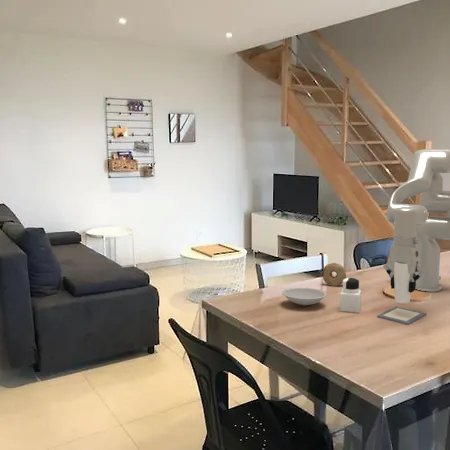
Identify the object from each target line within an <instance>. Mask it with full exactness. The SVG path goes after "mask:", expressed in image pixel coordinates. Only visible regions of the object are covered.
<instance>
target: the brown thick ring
mask: <svg viewBox="0 0 450 450" xmlns="http://www.w3.org/2000/svg"><path fill="white" fill-rule="evenodd" d="M332 273H335V274H336V275H335V276H334V275H333V274H332ZM346 278H347V273H346V269H345V268H344V266H343V265H341V264H339V263H336V262H331V263H327V264H326V265H325V266H324V268H323V270H322V280H323V281H324V283H325V284H327V285H328V286H333V287H335V286H341V285H343V280H344V279H346Z"/></svg>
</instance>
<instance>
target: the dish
mask: <svg viewBox="0 0 450 450" xmlns="http://www.w3.org/2000/svg"><path fill="white" fill-rule="evenodd" d="M281 293H282V294H281V295H283V296H284V297H285V298H286V299H287V300H289V301H290V302H292V303H294V304H295V305H301V306H303V307H306V306H309V305H315V304H317V303H319V302H320V301H322V300H323V299H324V298H326V297H327V296H328V294H327V292H325V291H324V290H322V289H317V288H309V287H308V288H307V287H293V288H288V289H284V290H283V291H282V292H281Z"/></svg>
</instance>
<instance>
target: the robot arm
mask: <svg viewBox="0 0 450 450" xmlns="http://www.w3.org/2000/svg"><path fill="white" fill-rule="evenodd" d="M412 158H413V159H412V162H411V166H410V167H411V168H410V171H409V174H408V178H407V180H406V182H403V184H401V185H400V186H398V187H397V188H396V189H395V190H394V191H393V192H392V194H391V196H390V198H389V202H388V206H387V209H386V219H387V221H388V222H389V223H391V224H393V243H391V246H390V250H389V251H390V252H389V255H388V257H389V258H388V261H387V262H386V263H385V264H383V267H382V268H383V269H384V270H385V271H386V273H387V274H388V277H389V278H390V289H394V290H395V288H394V264H395V262H397V263H401V264H407V266H408V273H409V274H410V280H411V281H410V282H409V292H410V293H413V292H415V289H417V290H416V291H419V290H421V291H420V292H425V291H426V292H428V293H431V292H432V293H436V292H441V291H442V290H443V286H442V284H440V283H439V281H441V279H442V278H441V276H440V266H441V265H440V264H441V263H440V262H441V261H440V260H441V248H440V246H439V243H438V242H437V240H447V241H450V190H444V189H443V184H444V178H443V176H442V174H448V173H450V148H425V149H418V150H416V151H415V152H414V153H413V157H412ZM417 195H420V198H419V199H420V201H419V204H411V203H410V204H409V203H402V202H403V201H405V200H407V199H409V198H411V197H415V196H417ZM429 213H432V214H444V215H445V214H446V215H447V216H440V215H439V216H438V215H429Z"/></svg>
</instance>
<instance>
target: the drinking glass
mask: <svg viewBox="0 0 450 450" xmlns="http://www.w3.org/2000/svg"><path fill="white" fill-rule="evenodd" d="M410 281H411V280H410V274H409V273H408V266H407V264H401V263H397V262H395V264H394V301H395V302H396V303H399V304H409V303H410V301H411V293H412V292H411V293H410V292H409V282H410Z"/></svg>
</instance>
